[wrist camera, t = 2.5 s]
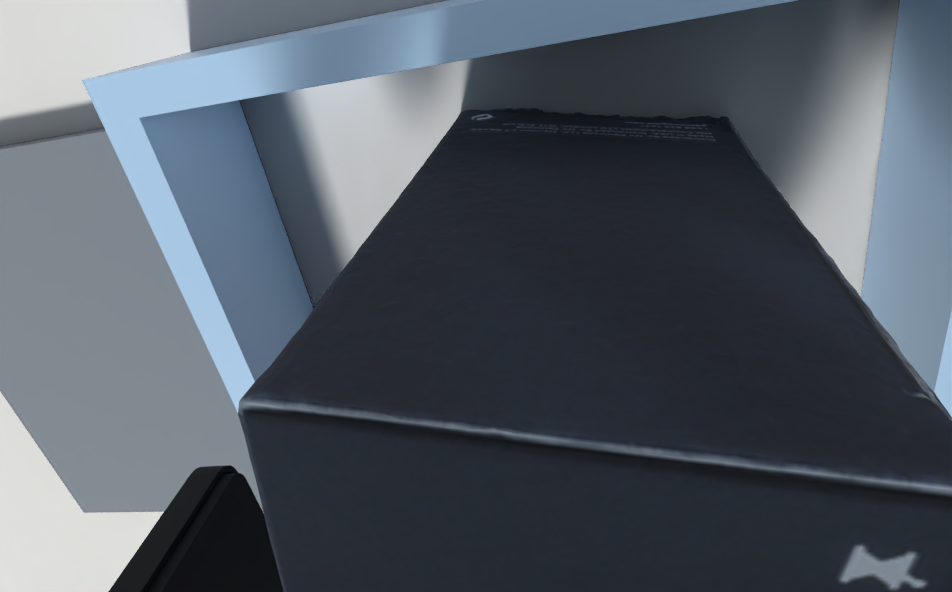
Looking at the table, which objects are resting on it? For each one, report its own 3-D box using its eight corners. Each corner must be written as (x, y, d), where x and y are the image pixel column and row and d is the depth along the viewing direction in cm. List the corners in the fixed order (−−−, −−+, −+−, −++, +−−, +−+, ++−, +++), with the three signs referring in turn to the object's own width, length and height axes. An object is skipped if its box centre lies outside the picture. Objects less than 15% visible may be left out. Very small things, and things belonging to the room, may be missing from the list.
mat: (150, 119, 15) (134, 126, 14) (312, 495, 21) (305, 509, 20) (-126, 168, 17) (-148, 175, 16) (94, 499, 23) (83, 512, 22)
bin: (963, -104, 11) (1116, -126, 8) (862, 517, 18) (919, 632, 15) (188, 52, 14) (81, 80, 11) (367, 521, 21) (333, 615, 18)
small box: (440, 100, 14) (177, 386, 5) (740, 112, 13) (1111, 484, 4) (447, 447, 19) (330, 896, 10) (661, 470, 18) (743, 982, 9)
